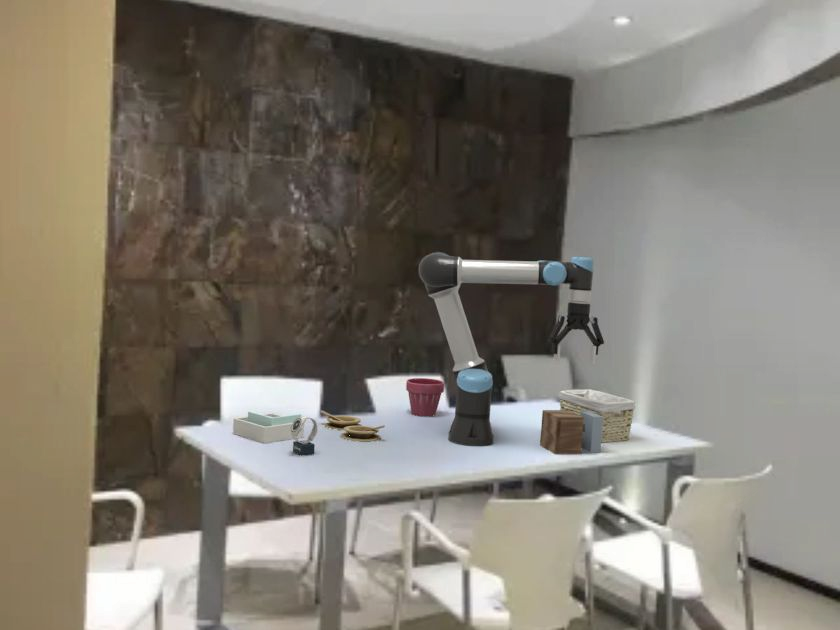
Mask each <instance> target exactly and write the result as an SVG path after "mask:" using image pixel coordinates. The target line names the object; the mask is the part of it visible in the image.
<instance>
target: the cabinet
mask: <svg viewBox="0 0 840 630" xmlns="http://www.w3.org/2000/svg"><path fill="white" fill-rule="evenodd" d="M541 414H542V417H541V427H540V441H539V446H540V447H542V448H544V449H545V450H547V451H549V452H551V453H553V454H554V455H581V454H582V448H581V447H584V439H582V433H583V432H585V424H583V421H584V417H581V416H579V415H577V414H575V413H572V412H570V411H568V410H560V409H542V413H541Z"/></svg>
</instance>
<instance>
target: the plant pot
mask: <svg viewBox="0 0 840 630" xmlns="http://www.w3.org/2000/svg"><path fill="white" fill-rule="evenodd" d="M405 390H406V392H408V393H407V394H408V398H409V399H408V400H409V406H410V412H411V415H412V416H416V415H417V416H416V417H423V416H429V417H434V416H436V414H437V410H438V407H439V404H440V400H441V396H442V393H444V391H445V382H444V381H442V380H440V379H435V378H425V377H424V378H422V377H417V378H416V377H413V378H408V379H407V380H406V385H405ZM433 415H434V416H433Z"/></svg>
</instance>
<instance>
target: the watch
mask: <svg viewBox="0 0 840 630" xmlns="http://www.w3.org/2000/svg"><path fill="white" fill-rule="evenodd" d="M307 420H310V421H312V424H313V426H312V429H311V431H310V433H309V435H308V437H307V439H305V440H299V438H297V437H296V436H298V433H300V431H301V430H302V429H303V427H304V428H305V422H306V421H307ZM318 431H319V425H318V423H317V421H316V420H315V418H312V417H309V416H308V415H307V416H306V415H305V416H304V415H302V416H301V417H300V418H297V419H296V420H295V421H294V422H293V424H292V426H291V434H292V437H293V439H292V440H294V441H293V443H292V452H293V453H294V454H297V455H298V456H300V455H301V457H303V456H302V455H305V456H313V455H312V454H314V455H315V443H312V441H314V439H315V438H316V436H317V433H318Z"/></svg>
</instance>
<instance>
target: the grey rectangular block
mask: <svg viewBox="0 0 840 630" xmlns="http://www.w3.org/2000/svg"><path fill="white" fill-rule="evenodd" d="M580 416H581V417H584V421H583V424H585V432H583V433H582V439H584V447H581V450H584V451H586V452H588V453H590V454H600V453H601V449H602V448H601V447H602V442H601V436H602V424H603V417H602V416H600V415H597V414H595V413H592V412H590V411H580Z"/></svg>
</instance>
